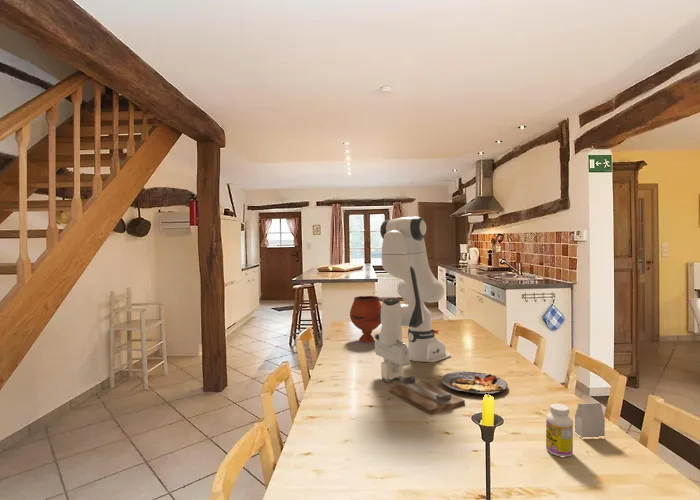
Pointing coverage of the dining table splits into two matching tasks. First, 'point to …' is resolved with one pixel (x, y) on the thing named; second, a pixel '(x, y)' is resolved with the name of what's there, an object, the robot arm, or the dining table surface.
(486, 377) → the food plate
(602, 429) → the grey upright block
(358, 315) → the goblet
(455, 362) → the dining table surface
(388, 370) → the block
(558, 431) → the supplement bottle
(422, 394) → the rail board
